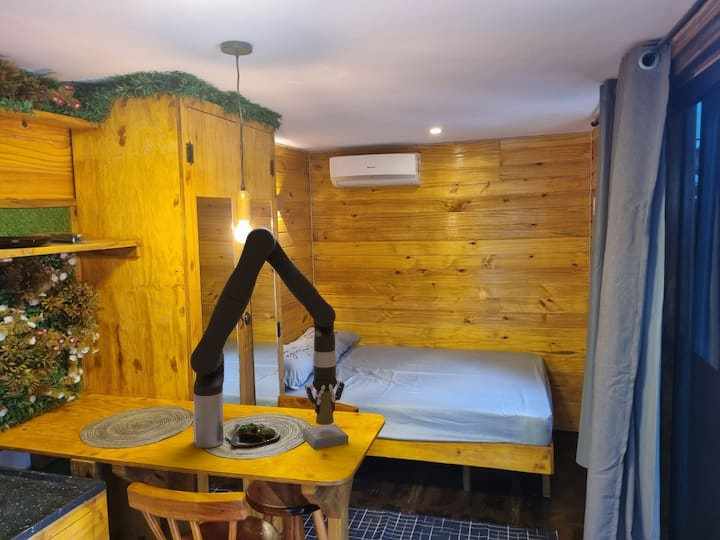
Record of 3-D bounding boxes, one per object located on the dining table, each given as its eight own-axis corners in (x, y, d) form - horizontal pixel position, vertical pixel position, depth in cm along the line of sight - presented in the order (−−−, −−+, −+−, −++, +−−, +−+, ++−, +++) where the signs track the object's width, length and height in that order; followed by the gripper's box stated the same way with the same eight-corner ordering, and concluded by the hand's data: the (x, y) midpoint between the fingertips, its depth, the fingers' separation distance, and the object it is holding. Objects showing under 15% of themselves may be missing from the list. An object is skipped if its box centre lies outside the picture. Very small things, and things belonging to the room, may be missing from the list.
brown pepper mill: (323, 426, 178) (322, 393, 177) (312, 421, 183) (312, 389, 182) (337, 422, 182) (337, 389, 181) (326, 417, 187) (326, 385, 186)
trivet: (314, 449, 175) (314, 441, 175) (302, 436, 186) (302, 428, 186) (348, 443, 180) (348, 435, 180) (335, 430, 191) (335, 423, 191)
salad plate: (214, 434, 189) (214, 421, 188) (261, 423, 199) (261, 411, 198) (235, 453, 173) (235, 439, 172) (286, 441, 183) (286, 427, 183)
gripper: (308, 368, 175) (308, 420, 176) (348, 363, 180) (348, 414, 182) (300, 363, 182) (301, 413, 183) (340, 358, 187) (340, 407, 189)
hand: (325, 413), depth 182 cm, fingers closed on brown pepper mill, 4 cm apart
